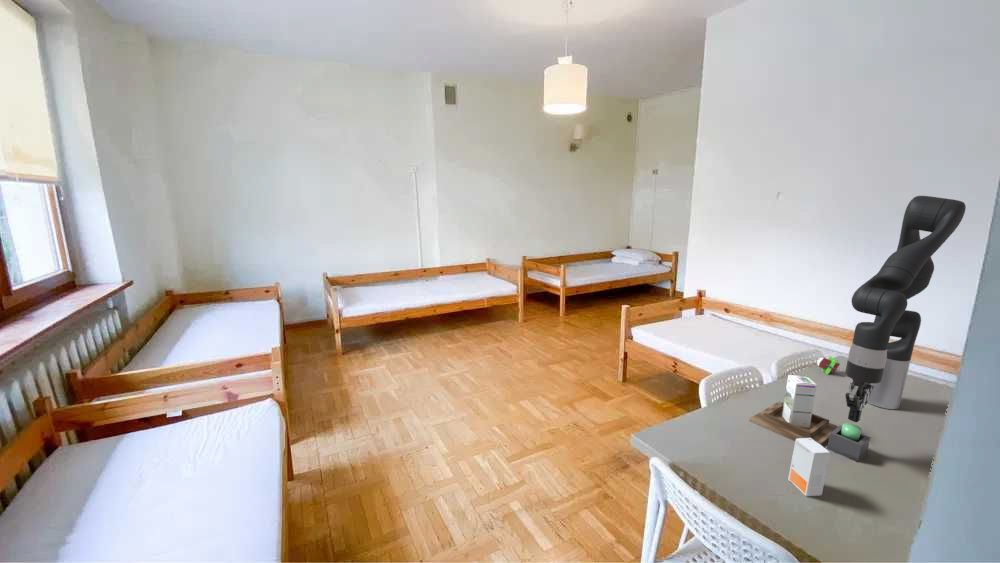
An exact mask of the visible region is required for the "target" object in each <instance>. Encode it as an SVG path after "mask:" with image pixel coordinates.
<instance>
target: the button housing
mask: <svg viewBox="0 0 1000 563" xmlns="http://www.w3.org/2000/svg"><path fill="white" fill-rule="evenodd" d="M838 426H839V427H837V428H836V429H835V430H833V431H832V432H831V433H830V436H829V440H828V441H827V442H828V443H827V447H826V450H828V451H831V452H833V453H835V454H838V455H841V456H843V457H844V458H848V459H849V460H852V461H854V462H856V463H858V462H859V461H861V460H862V458H863V457H865V456H866V455H867V454H868V450H869V446H870V443H871V442H870V441H871V438H872V437H871V436H870V435H869V436H868V435H867V434H863V433H861V434H860V438H859V440H858V441H853V440H851V439H848V438H846V437H843V436H841V430H842V426H843V425H838Z"/></svg>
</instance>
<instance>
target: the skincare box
mask: <svg viewBox="0 0 1000 563" xmlns="http://www.w3.org/2000/svg"><path fill="white" fill-rule="evenodd" d="M830 458H831V452H830V450H829V449H827V448H825V447H824V446H823V445H820V444H819V443H817V442H816V441H814V440H813V439H812V438H797V439H796V440H795V441H794V447H793V451H792V457H791V461H790V468H789V473H788V477H787V478H788V479H787V480H788V481H789V482H790V483H791V484H792V485H793V486H794V487H796V489H798V490H799V491H800V492H801V493H802V494H803V495H804V496H805V497H818V496H819V497H820V496H822V495H823V491H824V490H823V489H824V486H825V481H826V476H827V471H828V466H829V461H830Z"/></svg>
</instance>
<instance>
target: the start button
mask: <svg viewBox="0 0 1000 563" xmlns="http://www.w3.org/2000/svg"><path fill="white" fill-rule="evenodd" d="M841 426H842V430H841V436H843V437H846V438H848V439H851V440H853V441H858V440H859V438H860V434H862V433H861V432H862V428H861V427H860V426H858V425H856V424H853V423H849V422H845V423H844V422H843V423H842V425H841Z"/></svg>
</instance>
